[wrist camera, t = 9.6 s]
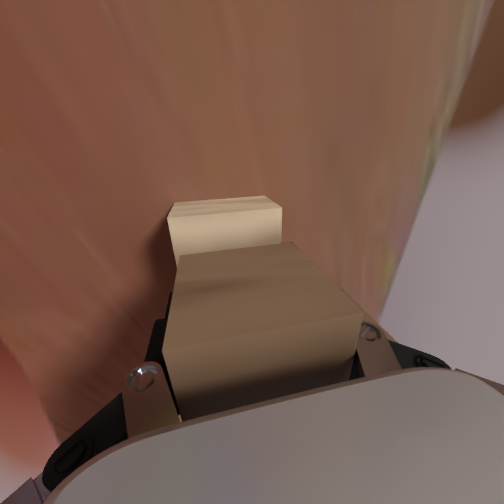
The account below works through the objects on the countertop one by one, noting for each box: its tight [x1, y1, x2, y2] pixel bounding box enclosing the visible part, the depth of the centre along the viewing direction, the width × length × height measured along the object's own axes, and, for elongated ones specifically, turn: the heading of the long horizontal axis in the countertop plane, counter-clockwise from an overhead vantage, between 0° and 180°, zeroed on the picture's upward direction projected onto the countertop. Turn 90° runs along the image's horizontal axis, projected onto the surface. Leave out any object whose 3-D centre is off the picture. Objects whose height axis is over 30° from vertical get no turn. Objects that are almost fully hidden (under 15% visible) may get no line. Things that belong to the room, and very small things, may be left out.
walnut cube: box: [162, 242, 364, 422], centre depth 10 cm, size 6×6×6 cm
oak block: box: [167, 196, 282, 268], centre depth 19 cm, size 8×8×5 cm
